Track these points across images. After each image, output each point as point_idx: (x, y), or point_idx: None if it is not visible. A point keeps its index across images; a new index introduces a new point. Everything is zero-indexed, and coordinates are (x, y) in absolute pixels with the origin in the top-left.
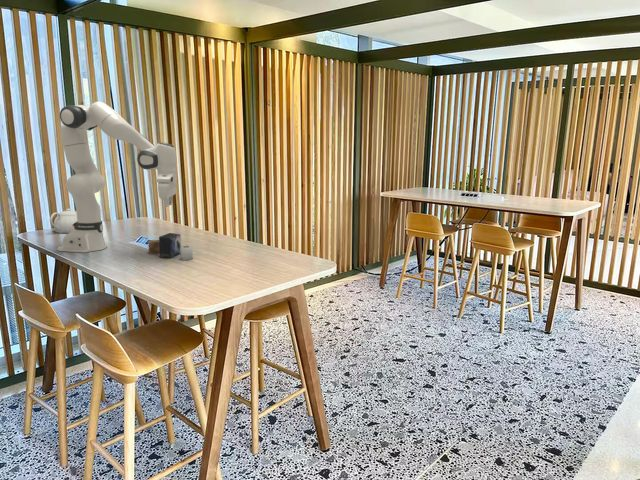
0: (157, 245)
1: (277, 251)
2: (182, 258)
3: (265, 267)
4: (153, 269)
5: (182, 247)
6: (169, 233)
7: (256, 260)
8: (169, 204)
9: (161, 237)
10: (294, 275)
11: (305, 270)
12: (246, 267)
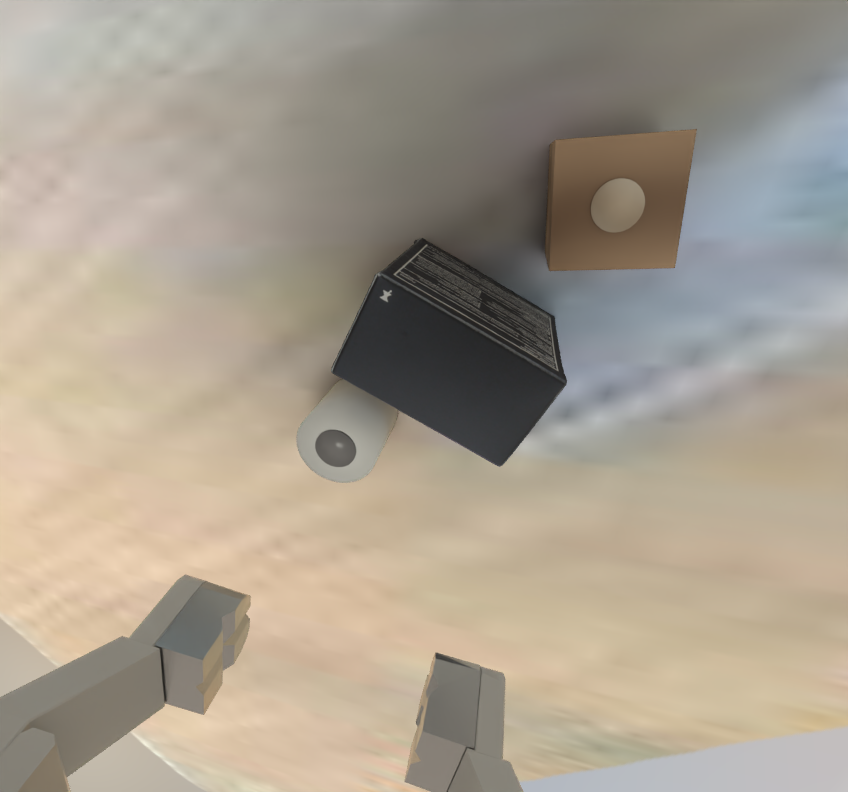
0: (549, 231)
1: None
2: (332, 387)
3: None
4: (130, 206)
5: (322, 424)
6: (532, 379)
7: (304, 667)
8: (430, 682)
9: (365, 297)
10: None
11: (173, 735)
12: None
